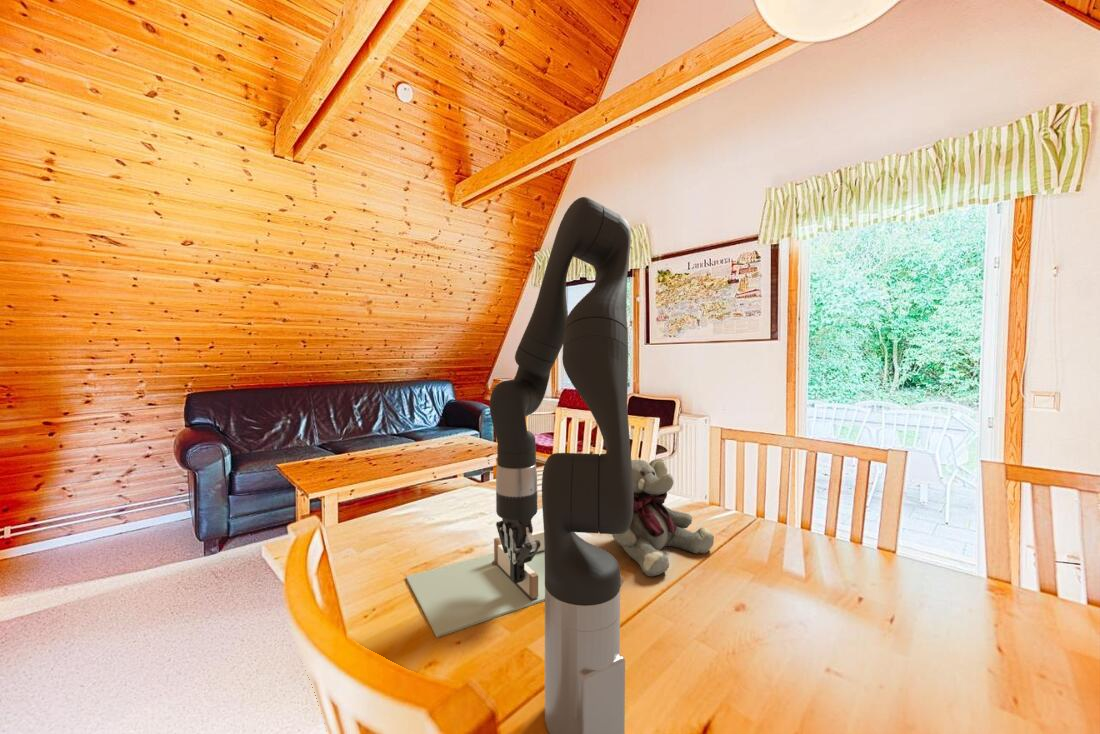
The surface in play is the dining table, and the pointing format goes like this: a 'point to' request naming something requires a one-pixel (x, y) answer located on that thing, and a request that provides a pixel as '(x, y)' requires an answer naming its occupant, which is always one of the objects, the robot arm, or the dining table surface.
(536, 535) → the fence fixed
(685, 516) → the plush elephant
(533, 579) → the gate
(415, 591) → the board
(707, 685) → the dining table surface
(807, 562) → the dining table surface
